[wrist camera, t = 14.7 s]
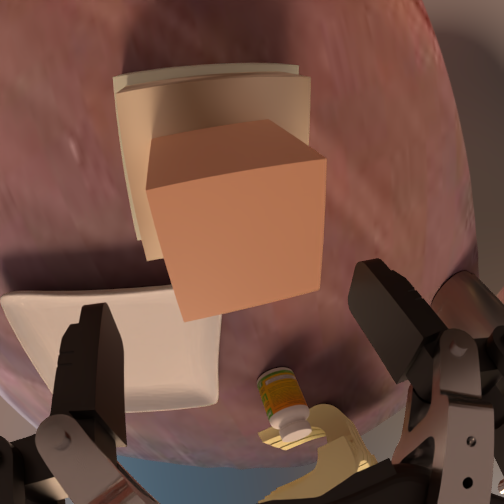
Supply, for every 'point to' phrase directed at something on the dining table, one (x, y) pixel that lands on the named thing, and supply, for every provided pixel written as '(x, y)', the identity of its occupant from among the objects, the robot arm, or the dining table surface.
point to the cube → (237, 215)
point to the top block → (201, 119)
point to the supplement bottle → (284, 403)
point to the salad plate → (128, 342)
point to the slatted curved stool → (323, 454)
